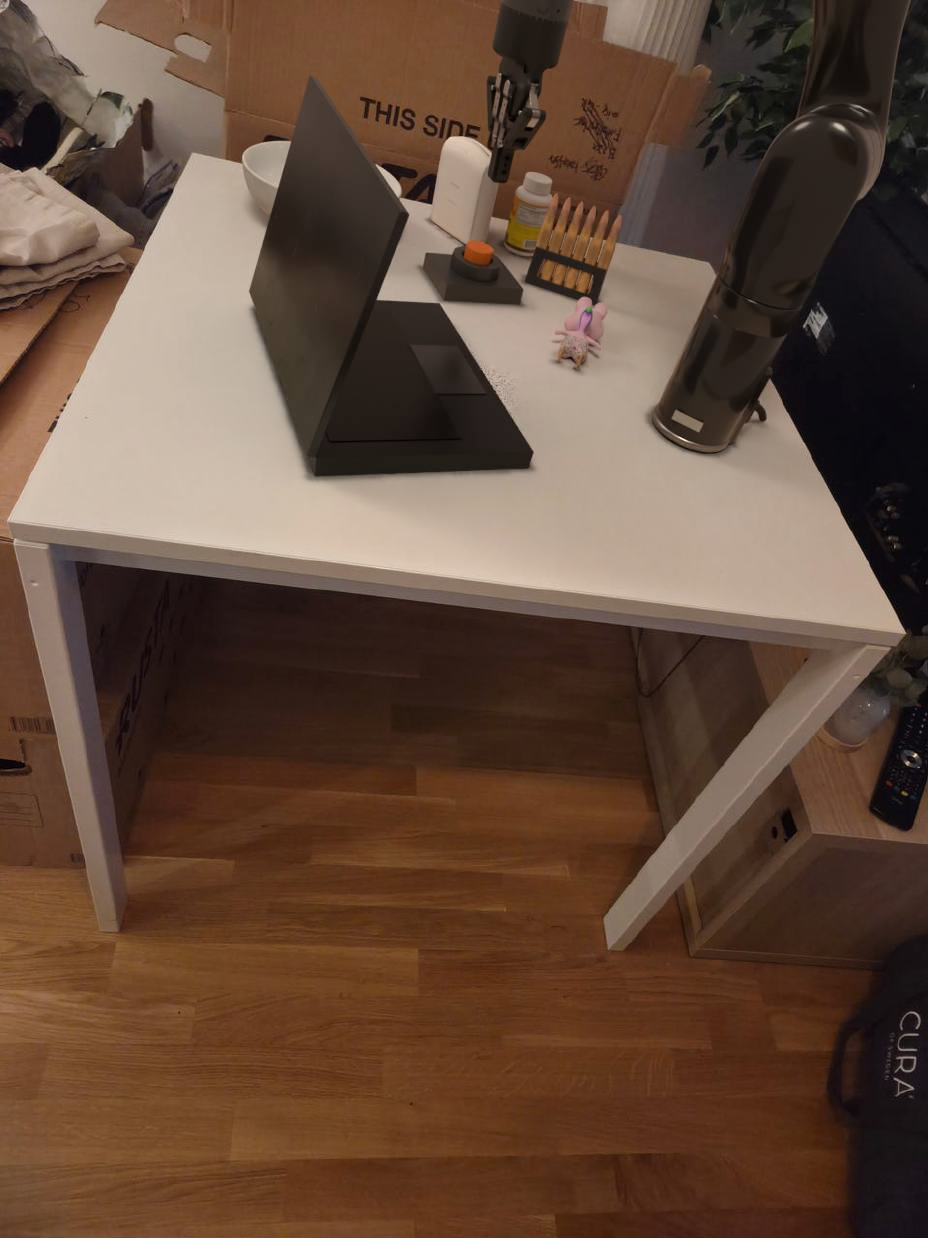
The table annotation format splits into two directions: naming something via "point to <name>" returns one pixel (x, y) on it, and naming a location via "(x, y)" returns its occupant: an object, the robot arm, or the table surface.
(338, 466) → the laptop
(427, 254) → the switch box
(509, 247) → the supplement bottle
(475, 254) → the power button
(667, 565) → the table surface
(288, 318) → the laptop screen
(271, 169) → the serving bowl
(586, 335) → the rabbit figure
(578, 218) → the ammunition clip
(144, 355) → the table surface
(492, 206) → the photo printer
